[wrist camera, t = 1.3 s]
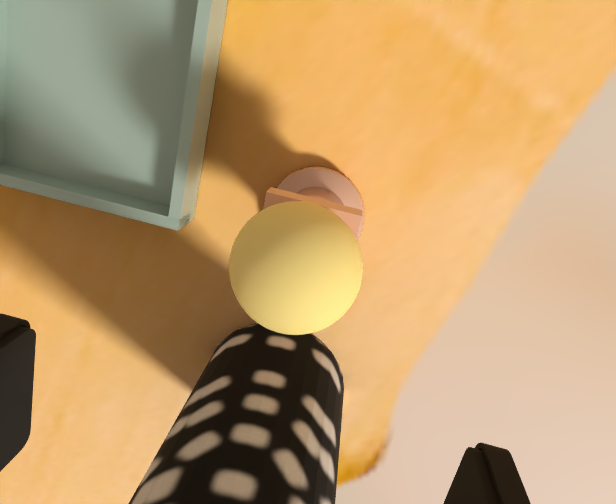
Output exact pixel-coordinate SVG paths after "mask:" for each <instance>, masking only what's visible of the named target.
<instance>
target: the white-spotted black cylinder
mask: <svg viewBox="0 0 616 504" xmlns="http://www.w3.org/2000/svg"><path fill="white" fill-rule="evenodd" d="M343 393H344V385H343V376H342V373H341V370H340V367H339V364H338V363H337V361H336V359H335V357H334V356H333V354H332V353H331V352H330V350H329V349H328V348H327V347H326V346H325V345H324V344H323V343H322V342H321V341H319V340H318V339H317V338H316V337H314V336H313V335H311V334H303V335H288V334H282V333H278V332H275V331H272V330H269V329H267V328H265V327H263V326H262V325H260V324H254V325H249V326H246V327H244V328H241V329H239V330H237V331H235V332H233V333H232V334H231V335H229V336H228V337H226V338H225V339H224V340H223V341H222V343H221V344H220V345H219V346H218V347H217V349H216V350H215V352H214V354H213V356H212V357H211V359H210V361H209V363H208V365H207V366H206V368H205V370H204V372H203V373H202V375H201V377H200V379H199V380H198V382H197V384H196V386H195V387H194V389H193V391H192V393H191V395H190V396H189V398H188V400H187V402H186V403H185V405H184V407H183V409H182V410H181V412H180V414H179V416H178V418H177V419H176V421H175V423H174V425H173V426H172V428H171V430H170V432H169V433H168V435H167V437H166V439H165V440H164V442H163V444H162V446H161V448H160V449H159V451H158V453H157V455H156V456H155V458H154V460H153V462H152V463H151V465H150V467H149V469H148V470H147V472H146V474H145V476H144V478H143V479H142V481H141V483H140V485H139V486H138V488H137V490H136V492H135V493H134V495H133V497H132V499H131V500H130V502H129V504H335V497H336V484H337V471H338V458H339V445H340V432H341V419H342V406H343Z"/></svg>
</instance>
